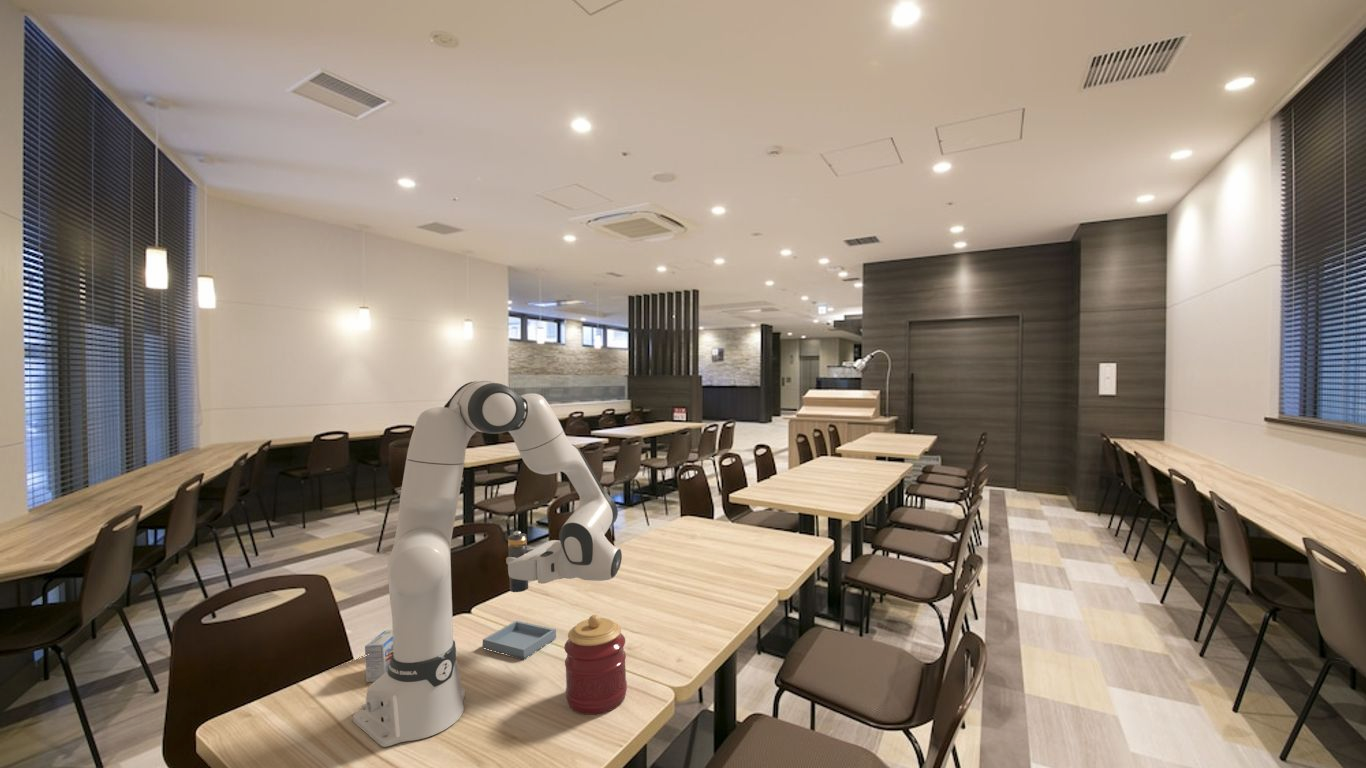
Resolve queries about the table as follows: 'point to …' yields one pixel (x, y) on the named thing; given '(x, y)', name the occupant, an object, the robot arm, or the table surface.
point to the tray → (519, 639)
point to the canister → (595, 666)
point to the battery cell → (517, 549)
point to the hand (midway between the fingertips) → (515, 556)
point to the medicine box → (378, 655)
